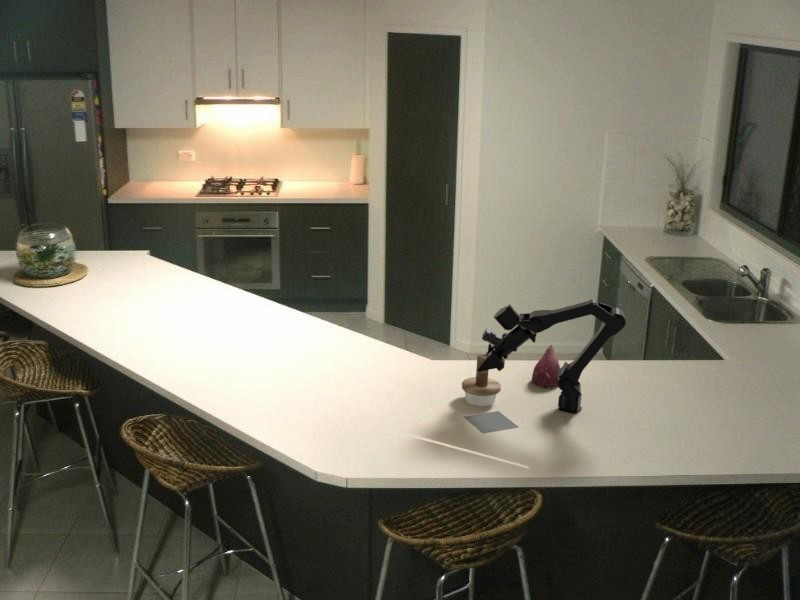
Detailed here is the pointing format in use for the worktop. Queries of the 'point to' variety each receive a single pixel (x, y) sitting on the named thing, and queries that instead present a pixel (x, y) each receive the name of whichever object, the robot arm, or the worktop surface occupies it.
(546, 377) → the vegetable
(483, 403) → the ramekin
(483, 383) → the walnut lid
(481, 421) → the rubber mat
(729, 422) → the worktop surface
